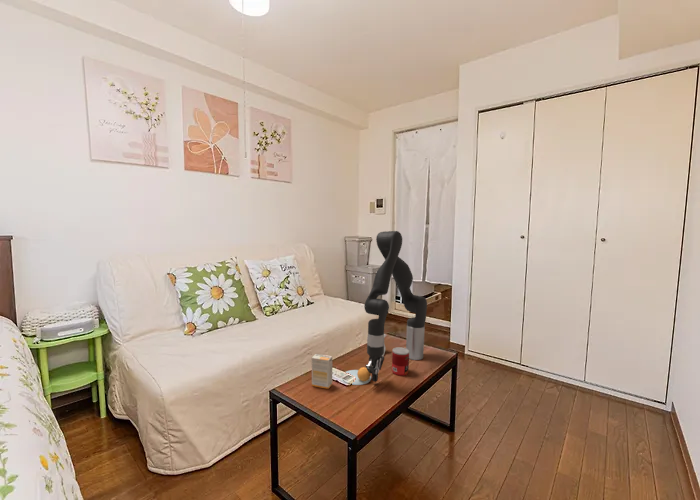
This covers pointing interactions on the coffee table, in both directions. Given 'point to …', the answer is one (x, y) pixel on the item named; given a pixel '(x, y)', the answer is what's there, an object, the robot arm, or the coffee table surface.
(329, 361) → the supplement box
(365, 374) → the ball
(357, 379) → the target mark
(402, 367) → the canned food
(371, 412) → the coffee table surface
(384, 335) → the seated beast figurine
